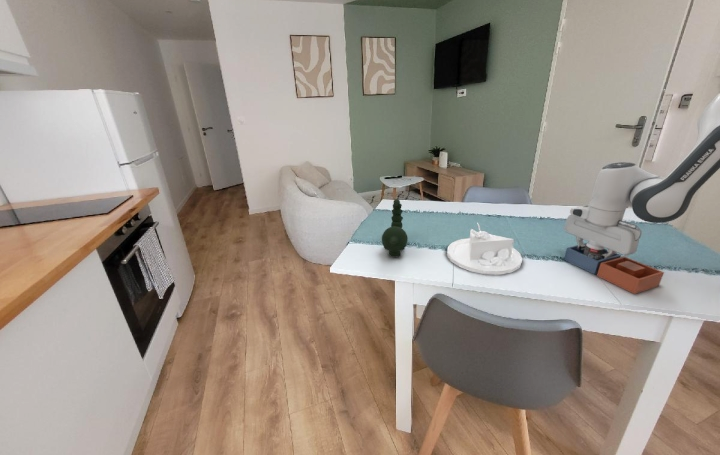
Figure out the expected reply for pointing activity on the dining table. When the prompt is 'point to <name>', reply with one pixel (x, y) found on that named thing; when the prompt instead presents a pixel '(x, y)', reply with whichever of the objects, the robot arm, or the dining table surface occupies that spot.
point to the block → (631, 269)
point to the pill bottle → (593, 250)
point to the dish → (485, 253)
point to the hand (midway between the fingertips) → (592, 254)
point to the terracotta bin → (630, 276)
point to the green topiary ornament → (395, 232)
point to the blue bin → (586, 259)
